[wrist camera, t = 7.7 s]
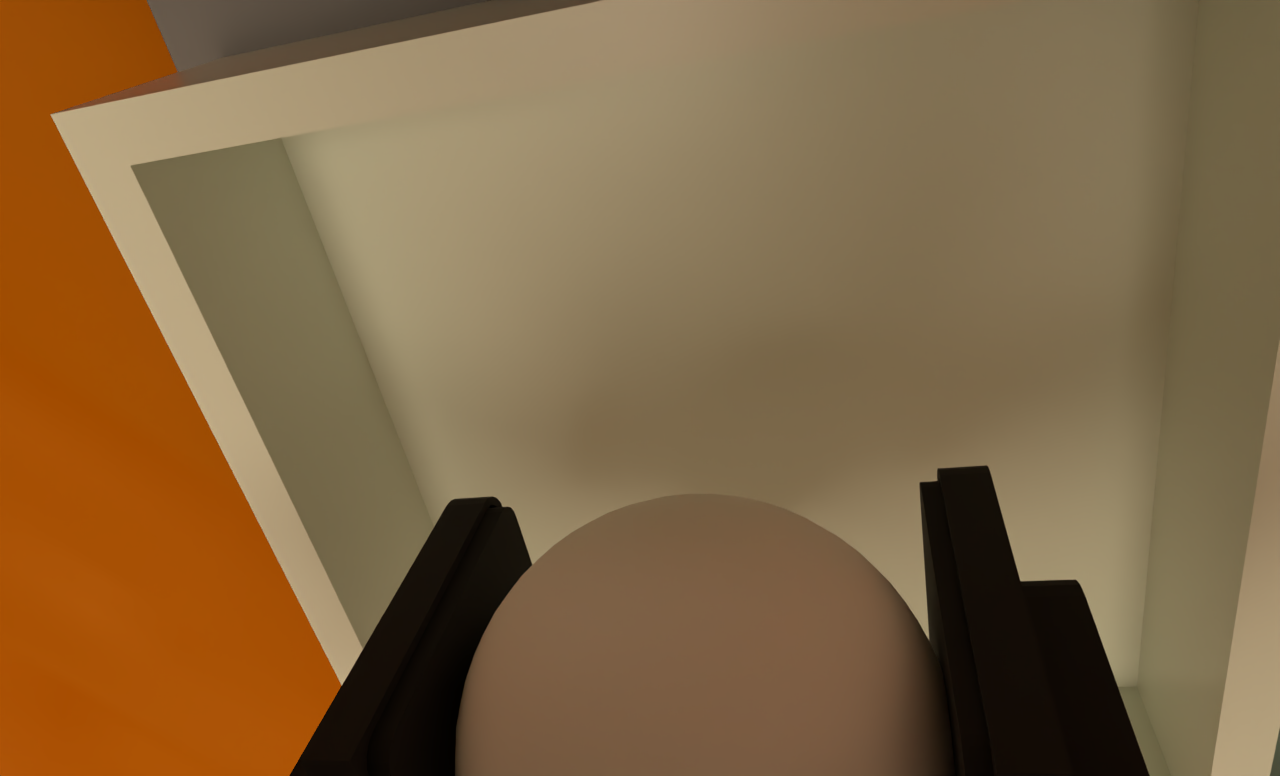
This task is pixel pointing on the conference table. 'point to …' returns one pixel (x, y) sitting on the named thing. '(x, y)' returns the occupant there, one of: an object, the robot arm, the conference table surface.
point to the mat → (271, 22)
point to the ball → (703, 655)
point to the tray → (749, 294)
